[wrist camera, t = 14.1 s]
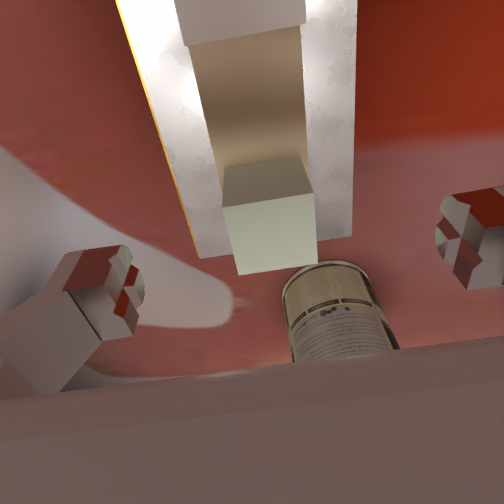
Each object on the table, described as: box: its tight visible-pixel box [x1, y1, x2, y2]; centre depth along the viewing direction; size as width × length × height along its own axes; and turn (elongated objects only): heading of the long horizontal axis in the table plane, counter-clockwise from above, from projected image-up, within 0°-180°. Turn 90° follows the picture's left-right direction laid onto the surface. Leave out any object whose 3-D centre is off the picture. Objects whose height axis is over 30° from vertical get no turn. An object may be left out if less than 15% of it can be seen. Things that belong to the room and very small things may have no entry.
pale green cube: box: [222, 156, 318, 275], centre depth 22 cm, size 5×5×5 cm
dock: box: [115, 0, 357, 258], centre depth 25 cm, size 28×14×3 cm, turn 9°
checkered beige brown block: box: [188, 25, 309, 194], centre depth 22 cm, size 22×6×4 cm, turn 9°
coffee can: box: [282, 260, 400, 363], centre depth 35 cm, size 10×10×14 cm
